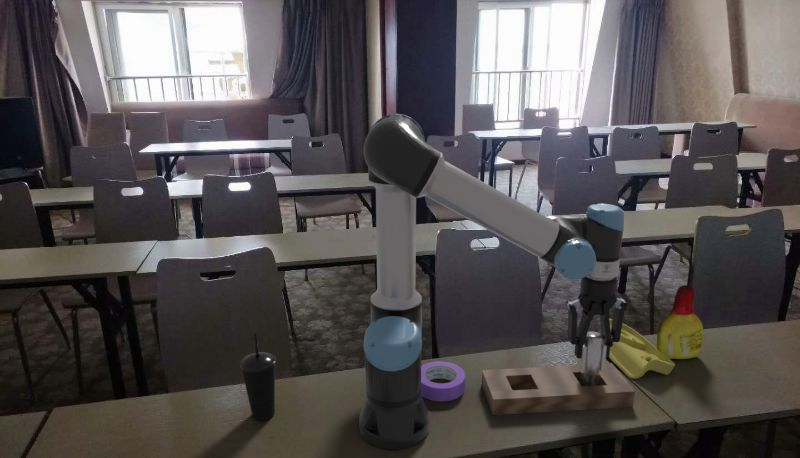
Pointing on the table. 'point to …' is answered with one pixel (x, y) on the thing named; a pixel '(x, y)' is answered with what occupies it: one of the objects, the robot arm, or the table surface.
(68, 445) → the table surface
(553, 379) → the brown block with holes
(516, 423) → the table surface
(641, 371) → the plastic component
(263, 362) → the drinking cup
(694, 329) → the bottle
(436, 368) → the masking tape
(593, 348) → the steel pin
